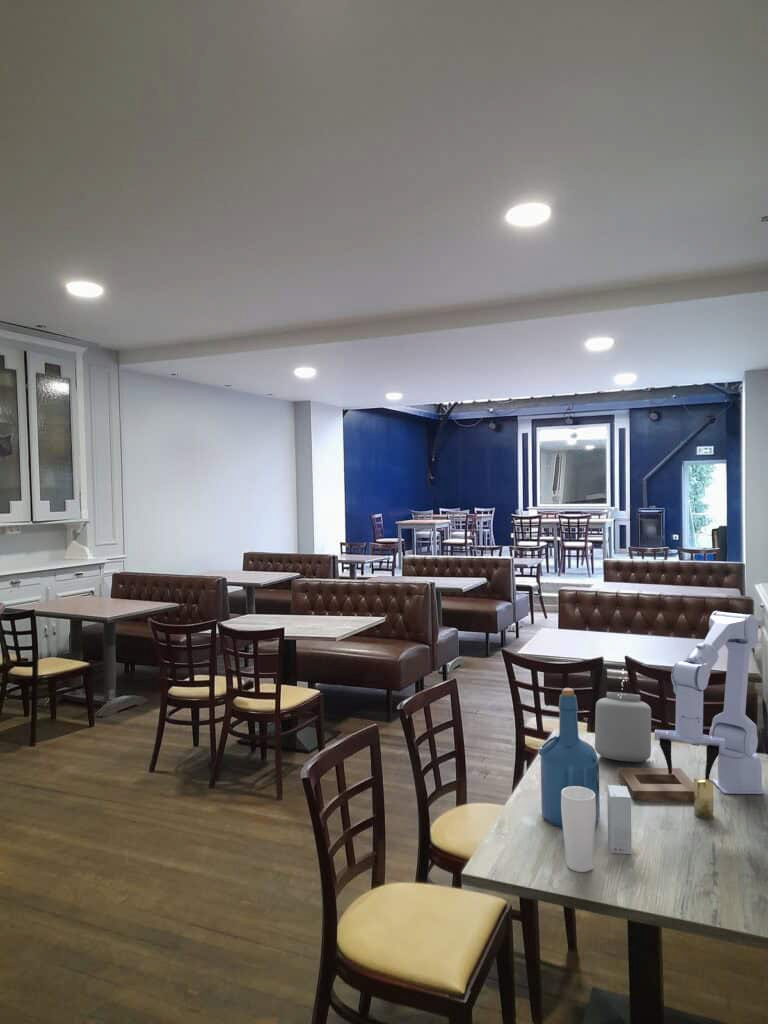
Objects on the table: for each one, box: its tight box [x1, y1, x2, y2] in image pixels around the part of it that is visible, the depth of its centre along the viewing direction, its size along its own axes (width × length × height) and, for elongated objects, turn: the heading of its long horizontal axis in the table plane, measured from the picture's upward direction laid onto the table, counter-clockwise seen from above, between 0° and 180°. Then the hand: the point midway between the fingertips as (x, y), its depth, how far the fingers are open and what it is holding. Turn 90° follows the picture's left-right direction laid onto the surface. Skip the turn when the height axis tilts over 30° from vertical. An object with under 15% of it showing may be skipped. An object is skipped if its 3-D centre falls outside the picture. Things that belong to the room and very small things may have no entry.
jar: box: [594, 668, 652, 763], centre depth 193 cm, size 19×15×25 cm
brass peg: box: [693, 776, 714, 820], centre depth 159 cm, size 4×4×8 cm
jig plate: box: [617, 767, 694, 803], centre depth 173 cm, size 16×14×2 cm
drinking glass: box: [561, 786, 597, 873], centre depth 138 cm, size 7×7×15 cm
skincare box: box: [606, 784, 632, 855], centre depth 146 cm, size 6×4×12 cm
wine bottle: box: [537, 687, 601, 829], centre depth 159 cm, size 14×13×30 cm
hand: (688, 775), depth 157 cm, fingers open, 7 cm apart
